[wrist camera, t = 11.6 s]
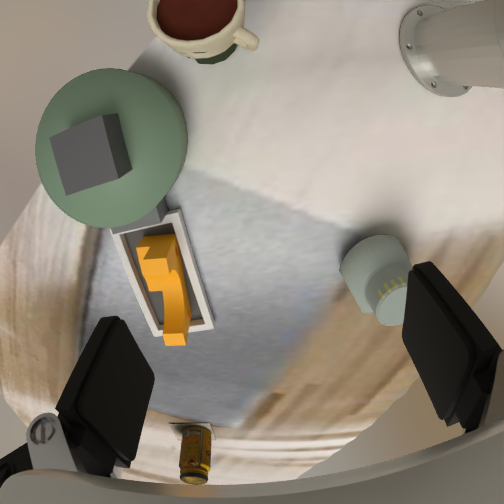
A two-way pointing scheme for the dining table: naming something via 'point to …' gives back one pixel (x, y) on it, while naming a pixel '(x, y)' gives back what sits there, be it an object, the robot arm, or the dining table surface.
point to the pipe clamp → (167, 283)
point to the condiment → (194, 451)
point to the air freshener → (378, 277)
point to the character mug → (201, 27)
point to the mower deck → (141, 137)
